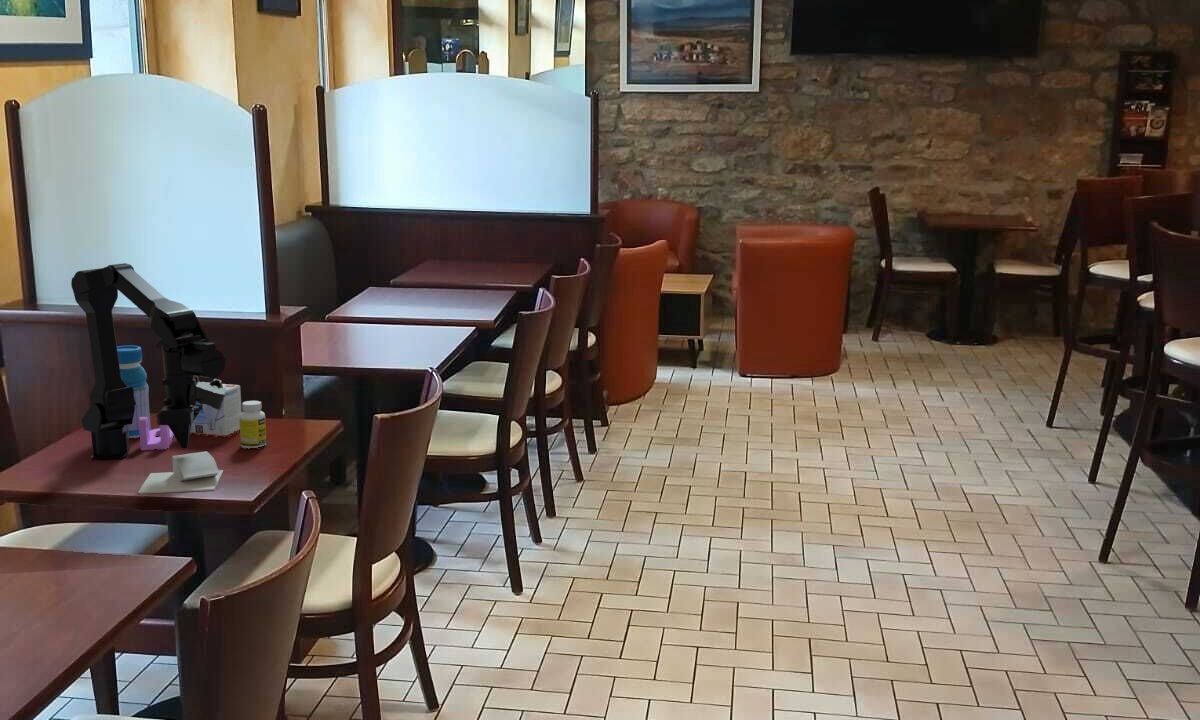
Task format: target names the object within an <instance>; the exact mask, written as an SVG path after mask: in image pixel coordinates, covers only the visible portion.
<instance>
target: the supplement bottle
mask: <svg viewBox="0 0 1200 720" xmlns="http://www.w3.org/2000/svg"><path fill="white" fill-rule="evenodd" d="M241 409H242V411H241V412H242V413H241V414H240V416H239V419H240V432H239V437H240V439H239V440H240V446H241V448H243V449H246V448H248V450H250V448H257V449H259V448H258V447H262V446H264V445H265V446H266V445H267V431H266V430H267V428H266V414H265V412H264V411H262V401H259V400H246V401H243V402H241ZM265 446H264V447H265ZM262 448H263V447H262Z"/></svg>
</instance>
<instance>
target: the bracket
mask: <svg viewBox="0 0 1200 720" xmlns="http://www.w3.org/2000/svg"><path fill="white" fill-rule="evenodd" d="M139 432H140V438H139V442H140V443H139V444H140V451H152V450H153V451H154V449H157V450H168V449H169V448H170V446H171V444H172V442H173V440H172V438H173V436H174V434H173V433H172V431H171V429H170V428H169V426H168V425H159V427H158V428H154V429H151V430H150V431H149V422H148V417H140V419H139ZM159 434H160V436H158V437H156V436H157V435H159ZM174 437H175V436H174ZM173 439H174V438H173ZM171 441H172V442H171ZM170 443H171V444H170ZM169 445H170V446H169ZM167 448H168V449H167Z"/></svg>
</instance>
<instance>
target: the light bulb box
mask: <svg viewBox="0 0 1200 720" xmlns="http://www.w3.org/2000/svg"><path fill="white" fill-rule="evenodd" d="M201 382H202V383H206V381H201ZM207 383H208V384H210V383H211V382H207ZM222 386H223V388H226V390H227V391H226V394H225V397H224V401H223V404H222V405H221V408H220V409H216V408H212V406H209V405H206V404H200V403H199V402H196V405H192V406H193V410H197V409H199V410H200V412H199V414H198V415H197V417H196V419H195V420H194V421H193V422H192V426H191V431H190V432H196V433H206V434H216V435H228V434H230V433H233V432H234V431H237V430H239V429H240V419H239V416H240V414H241V413H242V412H243V411H242V395H241V385H239V384H231V383H230V384H226V383H222Z"/></svg>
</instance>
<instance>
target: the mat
mask: <svg viewBox="0 0 1200 720" xmlns="http://www.w3.org/2000/svg"><path fill="white" fill-rule="evenodd" d="M218 470H219V472H220V473H218V475H216V476H215V477H208V478H202V479H195V480H188V481H182V482H180V481H179V480H178V479H177V477H176V476H175V475H174V474H173V471H172V472H171V471H169V472H151V473H149V475H148V477H147V478H146V480H145V481H144V482H143V484H142V485H141V486H140V488H139V490H138V492H137V494H142V495H144V494H158V493H159V494H161V493H162V494H164V493H185V492H205V491H215V490H216V489H217V486H218V484H219V481H220V479H221V477H222V474H223V473H224V470H223V469H218Z"/></svg>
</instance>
